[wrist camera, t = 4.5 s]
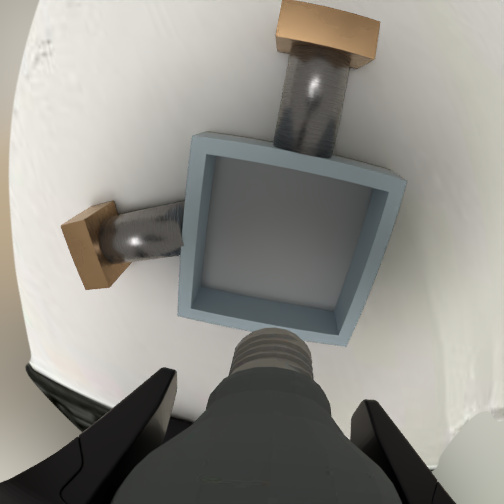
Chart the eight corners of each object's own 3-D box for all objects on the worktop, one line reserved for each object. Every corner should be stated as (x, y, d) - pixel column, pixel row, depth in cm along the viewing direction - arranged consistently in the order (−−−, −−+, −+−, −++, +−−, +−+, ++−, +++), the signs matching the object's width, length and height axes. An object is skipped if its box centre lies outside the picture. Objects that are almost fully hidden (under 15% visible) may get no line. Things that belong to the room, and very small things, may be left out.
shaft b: (187, 183, 18) (166, 201, 15) (204, 251, 20) (188, 279, 17) (90, 206, 19) (60, 225, 16) (110, 263, 21) (85, 289, 18)
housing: (340, 319, 21) (346, 346, 18) (189, 290, 21) (177, 316, 19) (389, 169, 16) (407, 181, 14) (206, 131, 17) (192, 135, 14)
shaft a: (339, 156, 16) (352, 167, 13) (261, 139, 16) (255, 146, 13) (362, 37, 13) (380, 21, 10) (283, 19, 13) (282, -2, 10)
